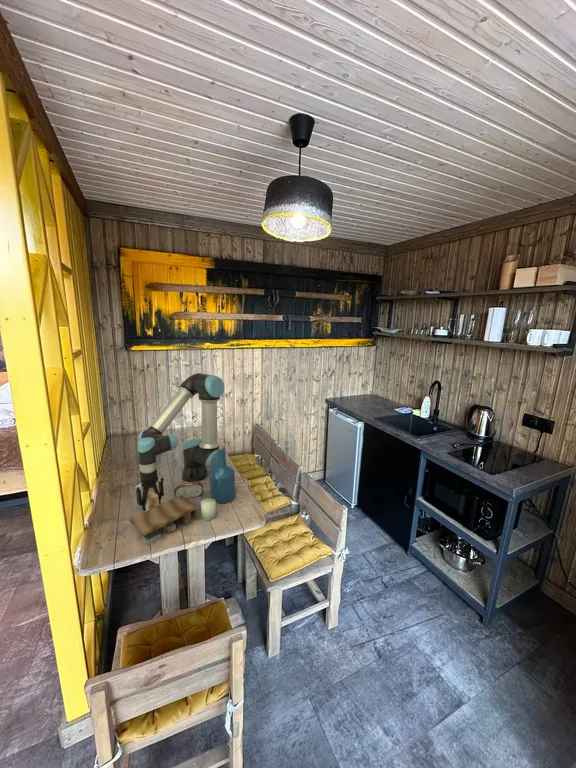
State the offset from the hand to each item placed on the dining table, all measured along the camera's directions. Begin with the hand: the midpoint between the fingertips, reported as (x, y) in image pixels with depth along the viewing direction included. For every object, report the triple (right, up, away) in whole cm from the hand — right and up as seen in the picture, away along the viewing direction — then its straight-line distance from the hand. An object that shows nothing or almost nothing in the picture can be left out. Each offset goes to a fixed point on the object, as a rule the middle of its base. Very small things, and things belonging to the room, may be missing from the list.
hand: (152, 512), depth 158 cm
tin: (+14, +2, +16) cm, 21 cm away
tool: (+6, -2, -5) cm, 9 cm away
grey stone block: (+7, -5, -16) cm, 18 cm away
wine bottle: (+32, +2, +16) cm, 36 cm away
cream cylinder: (+28, -2, 0) cm, 28 cm away
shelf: (+10, -3, -8) cm, 13 cm away
